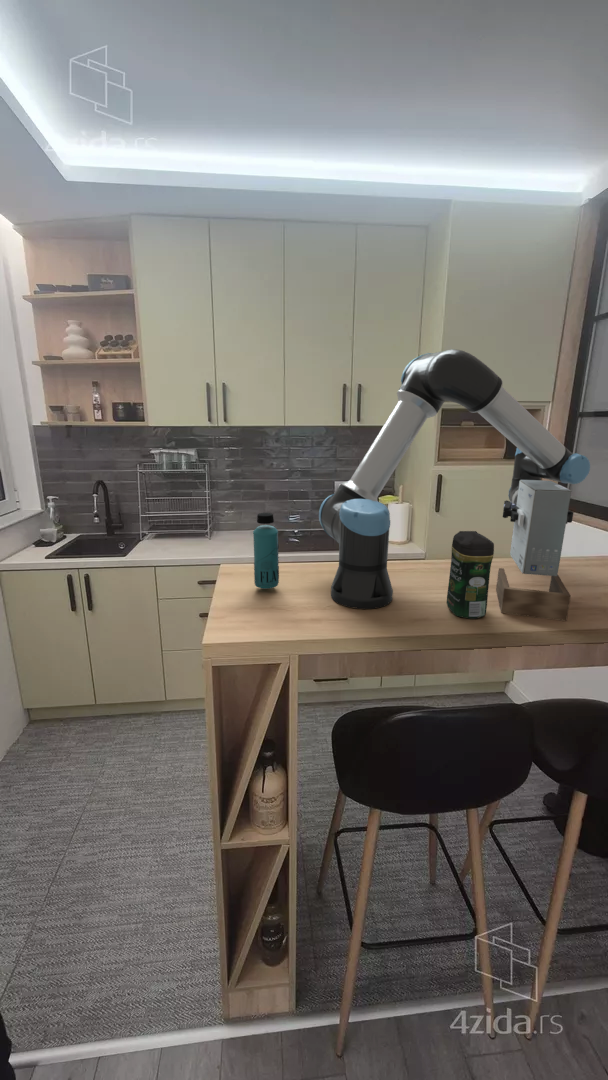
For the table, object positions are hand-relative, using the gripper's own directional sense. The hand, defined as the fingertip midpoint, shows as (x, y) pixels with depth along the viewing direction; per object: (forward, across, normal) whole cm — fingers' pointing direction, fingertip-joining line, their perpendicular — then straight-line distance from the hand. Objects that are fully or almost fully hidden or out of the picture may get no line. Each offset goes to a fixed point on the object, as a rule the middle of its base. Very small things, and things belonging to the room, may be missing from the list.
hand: (542, 522), depth 105 cm
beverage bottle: (+12, +63, -20) cm, 67 cm away
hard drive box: (-5, 0, -12) cm, 13 cm away
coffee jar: (+9, +15, -20) cm, 27 cm away
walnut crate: (0, 0, -20) cm, 20 cm away
